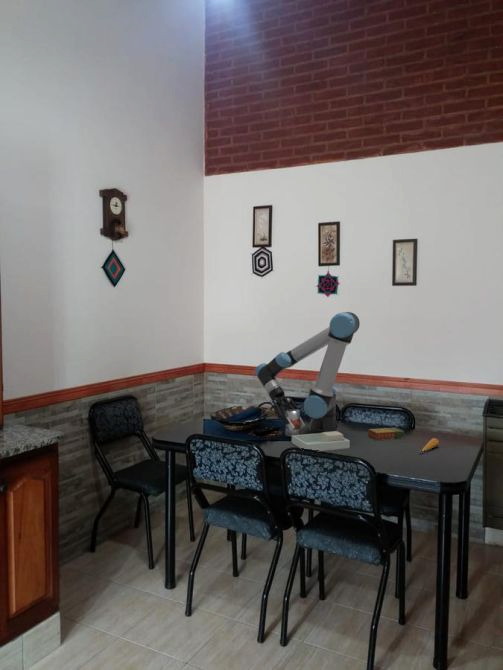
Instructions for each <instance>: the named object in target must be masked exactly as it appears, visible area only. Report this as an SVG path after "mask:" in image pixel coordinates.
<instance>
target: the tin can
mask: <svg viewBox="0 0 503 670" xmlns="http://www.w3.org/2000/svg"><path fill="white" fill-rule="evenodd" d="M300 411H301V410H300V409H299V410H296V409H286V410H285V414H286V417H288V418H289V419H290V421H291V422H292V424H293V426H294V427H295V428H294V429H293V430H292V431H290V429H289V427H288V426H287V425H286V424H285V436H287V437H291V438H292V436H293V435H301V434H300V433H301V431H300V430H301V427H300V416H301V413H300Z"/></svg>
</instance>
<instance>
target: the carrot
mask: <svg viewBox="0 0 503 670" xmlns="http://www.w3.org/2000/svg"><path fill="white" fill-rule="evenodd" d="M437 445H439V446H440V441H439V439H437V438H434V437H432V438H431V439H430V440H429V441H428V442H427V443H426V444H425V446H423V448H422V449H421V450H422V451H424V450H427V449H430V448H433V447H435V446H437ZM437 447H438V446H437Z"/></svg>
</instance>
